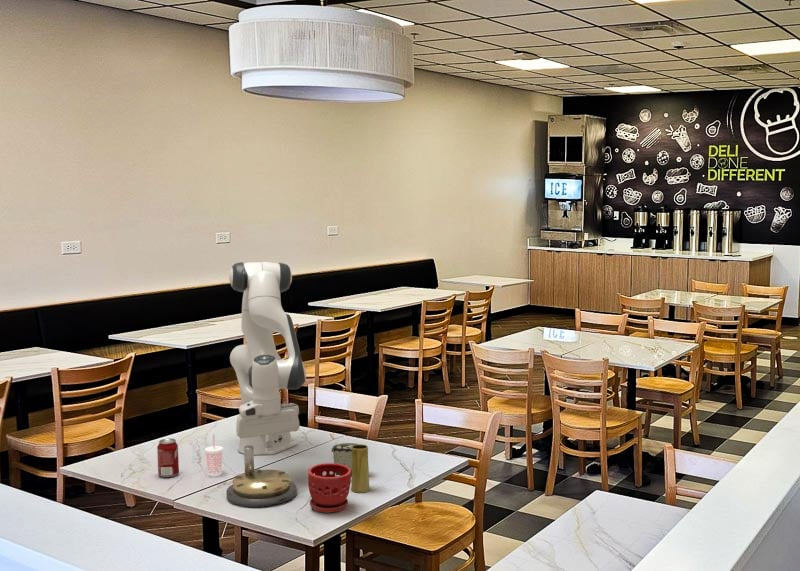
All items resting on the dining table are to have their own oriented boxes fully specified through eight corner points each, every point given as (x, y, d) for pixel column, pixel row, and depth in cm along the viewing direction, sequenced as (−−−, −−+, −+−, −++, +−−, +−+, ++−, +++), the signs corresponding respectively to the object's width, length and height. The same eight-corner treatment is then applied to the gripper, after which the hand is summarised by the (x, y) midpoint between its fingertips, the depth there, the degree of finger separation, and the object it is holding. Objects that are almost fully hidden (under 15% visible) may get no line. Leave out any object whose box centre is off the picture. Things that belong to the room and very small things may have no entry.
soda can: (173, 479, 279) (171, 444, 277) (154, 477, 280) (153, 443, 279) (182, 472, 285) (181, 438, 284) (164, 471, 286) (162, 437, 285)
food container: (372, 472, 284) (371, 444, 283) (365, 478, 278) (365, 449, 277) (338, 469, 288) (338, 441, 287) (331, 474, 282) (331, 446, 281)
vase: (362, 494, 263) (362, 450, 262) (347, 490, 266) (346, 447, 265) (373, 488, 268) (373, 445, 267) (357, 485, 272) (357, 442, 270)
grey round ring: (267, 478, 279) (267, 471, 278) (311, 493, 264) (311, 486, 264) (212, 496, 262) (212, 489, 262) (255, 513, 248) (255, 506, 247)
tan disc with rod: (302, 487, 263) (301, 450, 262) (255, 502, 250) (254, 464, 249) (267, 474, 275) (266, 439, 274) (221, 488, 263) (220, 451, 261)
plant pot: (306, 516, 246) (305, 476, 244) (310, 499, 259) (310, 462, 257) (350, 515, 246) (349, 476, 244) (352, 499, 259) (352, 462, 257)
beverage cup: (202, 476, 281) (200, 435, 280) (212, 470, 287) (210, 430, 286) (217, 478, 279) (216, 437, 278) (227, 472, 285) (226, 432, 284)
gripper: (296, 399, 275) (298, 440, 276) (234, 407, 268) (236, 448, 270) (300, 404, 269) (302, 445, 270) (237, 412, 262) (239, 454, 264)
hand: (269, 447), depth 270 cm, fingers closed
